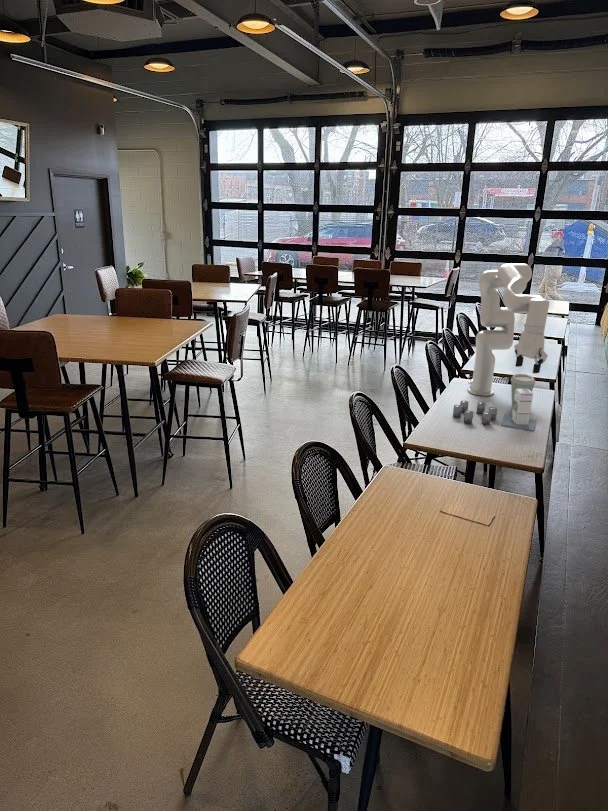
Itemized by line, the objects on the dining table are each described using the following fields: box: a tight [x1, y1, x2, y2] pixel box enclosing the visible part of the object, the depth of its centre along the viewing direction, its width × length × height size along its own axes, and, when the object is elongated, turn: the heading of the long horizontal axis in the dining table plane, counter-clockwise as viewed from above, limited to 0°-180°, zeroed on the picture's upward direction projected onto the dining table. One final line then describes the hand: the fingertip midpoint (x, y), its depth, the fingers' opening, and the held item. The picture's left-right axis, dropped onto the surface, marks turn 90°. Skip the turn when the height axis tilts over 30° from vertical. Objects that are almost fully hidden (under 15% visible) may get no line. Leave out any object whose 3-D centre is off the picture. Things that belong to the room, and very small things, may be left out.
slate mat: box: [500, 414, 537, 432], centre depth 234 cm, size 13×13×1 cm
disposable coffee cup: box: [510, 373, 536, 408], centre depth 251 cm, size 11×11×15 cm
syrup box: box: [511, 389, 534, 425], centre depth 231 cm, size 6×6×14 cm
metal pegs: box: [452, 400, 499, 426], centre depth 239 cm, size 19×17×5 cm
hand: (527, 369), depth 226 cm, fingers open, 9 cm apart
